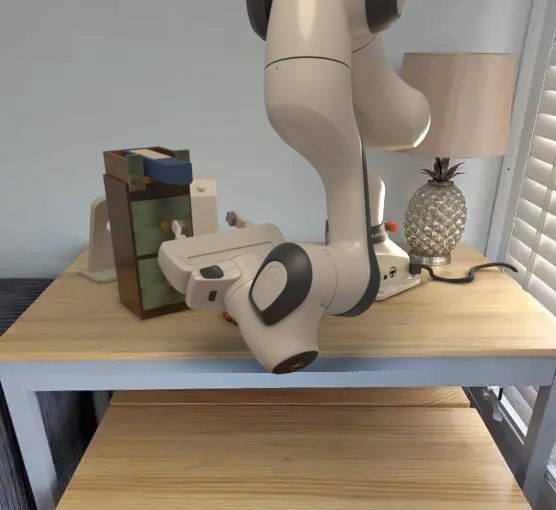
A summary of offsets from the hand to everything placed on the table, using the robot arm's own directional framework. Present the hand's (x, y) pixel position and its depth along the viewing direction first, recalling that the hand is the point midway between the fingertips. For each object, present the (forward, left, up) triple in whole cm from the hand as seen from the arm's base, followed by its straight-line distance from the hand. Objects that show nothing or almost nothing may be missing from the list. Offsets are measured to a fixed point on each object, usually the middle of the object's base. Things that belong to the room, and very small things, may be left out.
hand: (204, 218), depth 96 cm
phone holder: (-2, -47, -22) cm, 52 cm away
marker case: (0, -17, +4) cm, 18 cm away
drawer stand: (0, -22, -22) cm, 31 cm away
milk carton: (-23, -47, -22) cm, 57 cm away
